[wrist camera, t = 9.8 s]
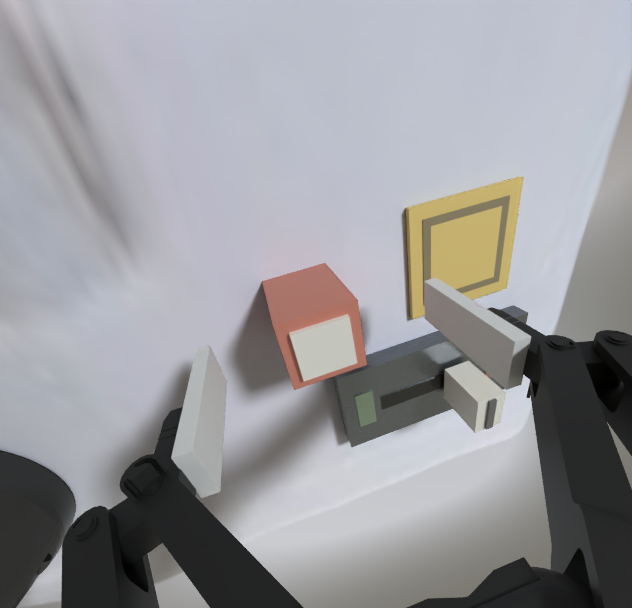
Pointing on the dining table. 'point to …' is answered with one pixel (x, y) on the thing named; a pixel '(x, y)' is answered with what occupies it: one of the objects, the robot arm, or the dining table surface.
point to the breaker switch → (473, 396)
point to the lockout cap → (315, 324)
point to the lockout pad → (463, 241)
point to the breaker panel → (401, 385)
